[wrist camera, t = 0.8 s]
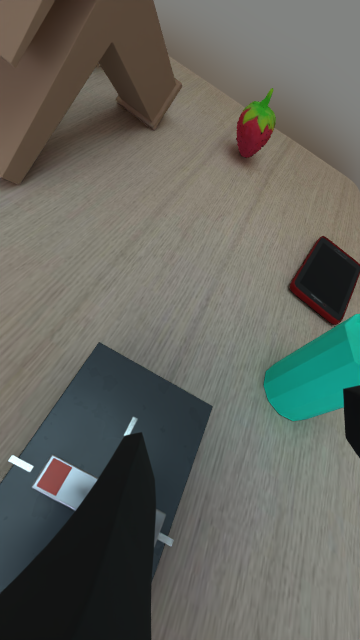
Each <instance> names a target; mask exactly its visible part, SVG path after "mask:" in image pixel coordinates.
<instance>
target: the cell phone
mask: <svg viewBox="0 0 360 640" xmlns="http://www.w3.org/2000/svg"><path fill="white" fill-rule="evenodd" d="M359 275H360V264H359V263H358V262H357V261H356V260H354V259H353V258H352V257H351V256H349V255H348V254H347V253H345V252H344V251H343V250H342V249H340V248H339V247H338V246H337V245H335V244H334V243H333V242H332V241H330V240H329V239H328V238H326V237H325V236H321V237H320V238H319V239H318V240H317V241H316V243H315V245H314V246H313V248H312V249H311V251H310V253H309V254H308V256H307V257H306V259H305V261H304V262H303V265H302V266H301V267H300V269H299V270H298V272H297V273H296V275H295V277H294V278H293V280H292V281H291V284H290V289H291V291H292V292H293V293H294V294H295V295H296V296H298V297H299V298H300V299H301V300H302V301H304V302H305V303H306V304H307V305H309V306H310V307H311V308H312V309H314V310H315V311H316V312H317V313H319V314H320V315H321V316H322V317H323V318H325V319H326V320H327V321H328V322H330V323H331V324H334V325H336V324H338V323H340V322H341V321H342V319H343V317H344V315H345V312H346V309H347V307H348V304H349V301H350V299H351V296H352V293H353V291H354V288H355V285H356V283H357V280H358V277H359ZM347 303H348V304H347ZM345 308H346V309H345ZM344 311H345V312H344Z"/></svg>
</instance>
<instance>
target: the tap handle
mask: <svg viewBox="0 0 360 640" xmlns="http://www.w3.org/2000/svg"><path fill="white" fill-rule="evenodd" d="M97 479H98V478H97V477H95V476H94V475H92V474H90V473H88V472H86V471H84V470H82V469H80V468H79V467H77V466H75V465H73V464H71V463H69V462H67V461H65V460H63V459H62V458H60V457H58V456H56V455H54V454H52V455H51V456H50V458H49V459H48V461H47V462H46V464H45V465H44V467H43V469H42V470H41V472H40V473H39V475H38V476H37V478H36V480H35V481H34V483H33V484H32V489H34V490H35V491H37V492H39V493H41V494H43V495H45V496H47V497H49V498H51V499H53V500H54V501H56V502H58V503H60V504H62V505H64V506H66V507H68V508H70V509H72V510H74V511H76V509H77V508H78V507H79V505H80V504H81V502H82V501H83V500H84V498H85V497H86V495H87V494H88V493H89V491H90V490H91V488H92V487H93V486H94V484H95V483H96V481H97ZM165 516H166V514H165V513H163V512H161V511H159V510H158V509H156V523H155V539H154V547H155V544H156V541H157V538H158V536H159V533H160V530H161V527H162V525H163V522H164V519H165Z"/></svg>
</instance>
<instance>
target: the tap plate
mask: <svg viewBox="0 0 360 640" xmlns="http://www.w3.org/2000/svg"><path fill="white" fill-rule="evenodd" d="M212 407H213V406H211V405H209V404H207V403H206V402H204V401H202V400H200V399H199V398H197V397H195V396H193V395H192V394H190V393H188V392H186V391H185V390H183V389H181V388H179V387H177V386H176V385H174V384H172V383H170V382H169V381H167V380H165V379H163V378H162V377H160V376H158V375H156V374H155V373H153V372H151V371H149V370H148V369H146V368H144V367H142V366H140V365H139V364H137V363H135V362H133V361H132V360H130V359H128V358H126V357H125V356H123V355H121V354H119V353H118V352H116V351H114V350H112V349H110V348H109V347H107V346H105V345H103V344H102V343H100V342H99V343H98V344H97V346H96V347H95V349H94V350H93V352H92V353H91V354H90V356H89V357H88V359H87V360H86V362H85V363H84V364H83V366H82V367H81V369H80V370H79V372H78V373H77V374H76V376H75V377H74V379H73V380H72V382H71V383H70V384H69V386H68V387H67V389H66V390H65V392H64V393H63V394H62V396H61V397H60V399H59V400H58V402H57V403H56V404H55V406H54V407H53V409H52V410H51V412H50V413H49V414H48V416H47V417H46V419H45V420H44V422H43V423H42V424H41V426H40V427H39V429H38V430H37V432H36V433H35V435H34V436H33V437H32V439H31V440H30V442H29V443H28V445H27V446H26V447H25V449H24V450H23V452H22V453H21V455H20V456H19V457H16V456H14V455H12V456H11V457H10V459H9V460H8V461H9V462H11V463H12V464H14V465H13V466H12V467H11V469H10V470H9V472H8V473H7V475H6V476H5V477H4V479H3V480H2V482H1V483H0V593H1V592H2V591H3V590H4V589H5V588H6V587H7V586H8V585H9V584H10V583H11V582H12V581H13V580H14V579H15V578H16V577H17V576H18V575H19V574H20V573H21V572H22V571H23V570H24V569H25V568H26V567H27V566H28V565H29V564H30V562H31V561H32V560H33V559H34V558H35V557H36V556H37V555H38V554H39V553H40V552H41V551H42V550H43V549H44V548H45V547H46V546H47V544H48V543H49V542H50V541H51V540H52V539H53V538H54V536H55V535H56V534H57V533H58V532H59V531H60V529H61V528H62V527H63V526H64V525H65V523H66V522H67V521H68V520H69V518H70V517H71V516H72V515H73V513H74V512H75V511H74V510H72V509H70V508H68V507H66V506H64V505H62V504H60V503H58V502H56V501H54V500H53V499H51V498H49V497H47V496H45V495H43V494H41V493H39V492H37V491H35V490H34V489H32V484H33V483H34V481H35V480H36V478H37V476H38V475H39V473H40V472H41V470H42V469H43V467H44V465H45V464H46V462H47V461H48V459H49V458H50V456H51V455H52V454H54V455H56V456H58V457H60V458H62V459H63V460H65V461H67V462H69V463H71V464H73V465H75V466H77V467H79V468H80V469H82V470H84V471H86V472H88V473H90V474H92V475H94V476H95V477H97V478H99V476H100V475H101V473H102V472H103V470H104V469H105V467H106V465H107V464H108V462H109V461H110V459H111V457H112V456H113V454H114V452H115V451H116V449H117V447H118V446H119V444H120V442H121V441H122V439H123V438H124V436H125V435H130V434H134V433H139V432H142V434H143V437H144V441H145V445H146V448H147V452H148V456H149V459H150V463H151V467H152V470H153V474H154V478H155V491H156V509H158V510H159V511H161V512H163V513H165V514H166V516H165V519H164V522H163V525H162V527H161V530H160V533H159V536H158V538H157V541H156V544H155V547H154V554H153V569H152V580H153V577H154V575H155V572H156V569H157V566H158V563H159V560H160V557H161V554H162V551H163V549H164V546H165V544H167V545H169V546H172V543H173V539H172V538H170V537H168V534H169V531H170V528H171V526H172V523H173V520H174V517H175V514H176V511H177V508H178V505H179V502H180V500H181V497H182V494H183V491H184V488H185V485H186V482H187V479H188V477H189V474H190V471H191V468H192V465H193V462H194V459H195V456H196V453H197V451H198V448H199V445H200V442H201V439H202V436H203V433H204V430H205V427H206V425H207V422H208V419H209V416H210V413H211V410H212Z"/></svg>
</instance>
